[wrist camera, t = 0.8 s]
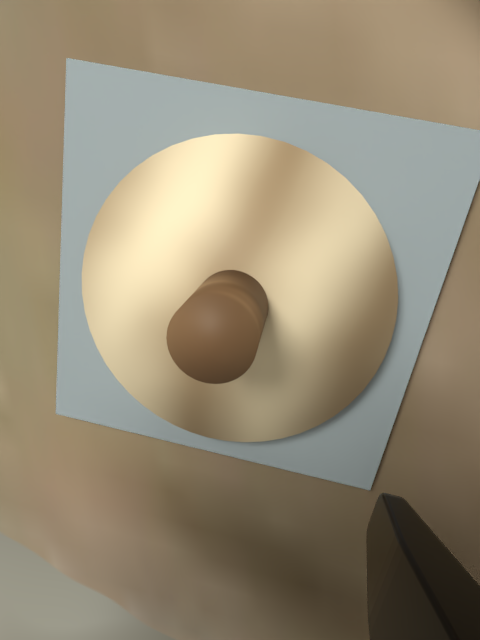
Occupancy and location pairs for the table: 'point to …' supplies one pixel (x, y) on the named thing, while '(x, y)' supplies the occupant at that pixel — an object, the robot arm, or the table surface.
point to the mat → (303, 132)
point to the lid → (239, 287)
